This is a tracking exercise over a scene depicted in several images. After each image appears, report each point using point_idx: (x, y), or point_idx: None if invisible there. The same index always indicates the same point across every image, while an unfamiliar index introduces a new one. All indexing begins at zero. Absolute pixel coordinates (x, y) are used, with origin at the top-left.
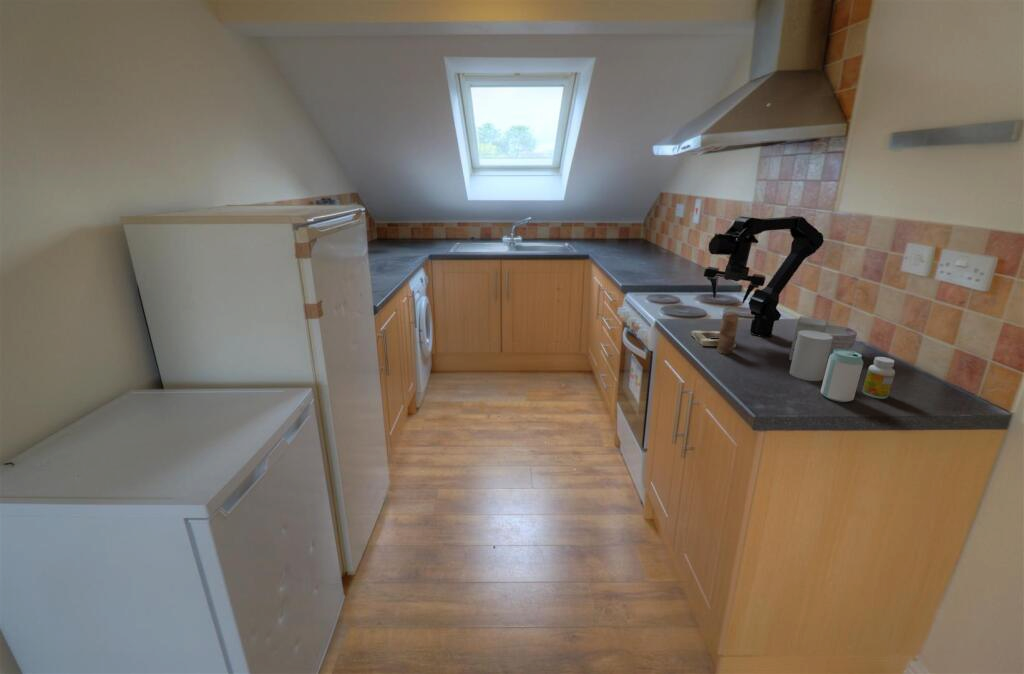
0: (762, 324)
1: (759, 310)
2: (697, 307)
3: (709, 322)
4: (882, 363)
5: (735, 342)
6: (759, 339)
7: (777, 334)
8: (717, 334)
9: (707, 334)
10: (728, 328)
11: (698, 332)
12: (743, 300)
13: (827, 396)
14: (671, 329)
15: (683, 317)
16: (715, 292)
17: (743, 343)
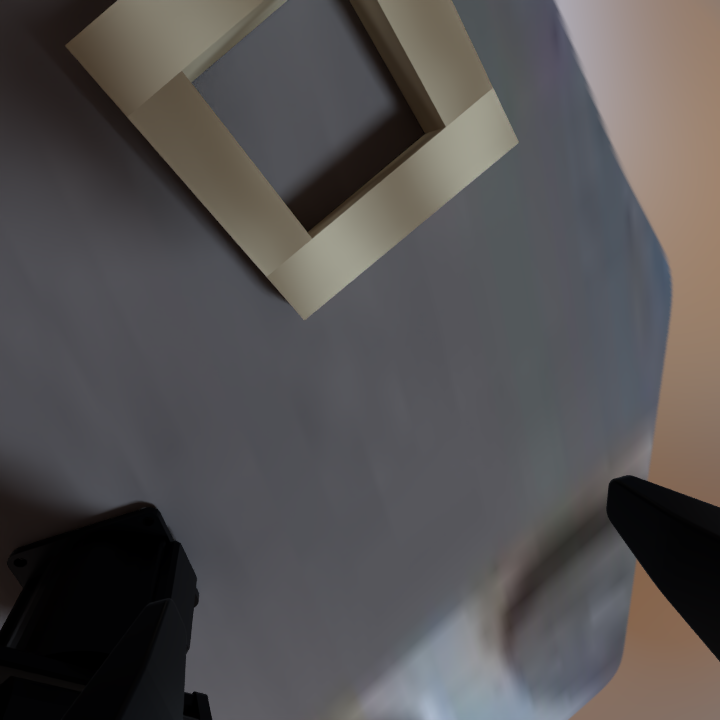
0: (62, 608)
1: (22, 705)
2: (562, 705)
3: (459, 542)
4: None
5: (75, 40)
6: (58, 455)
7: None
8: (321, 229)
9: (388, 172)
10: None
11: (459, 120)
12: (139, 648)
13: None
14: (627, 217)
15: (596, 515)
16: (718, 536)
17: (96, 254)
